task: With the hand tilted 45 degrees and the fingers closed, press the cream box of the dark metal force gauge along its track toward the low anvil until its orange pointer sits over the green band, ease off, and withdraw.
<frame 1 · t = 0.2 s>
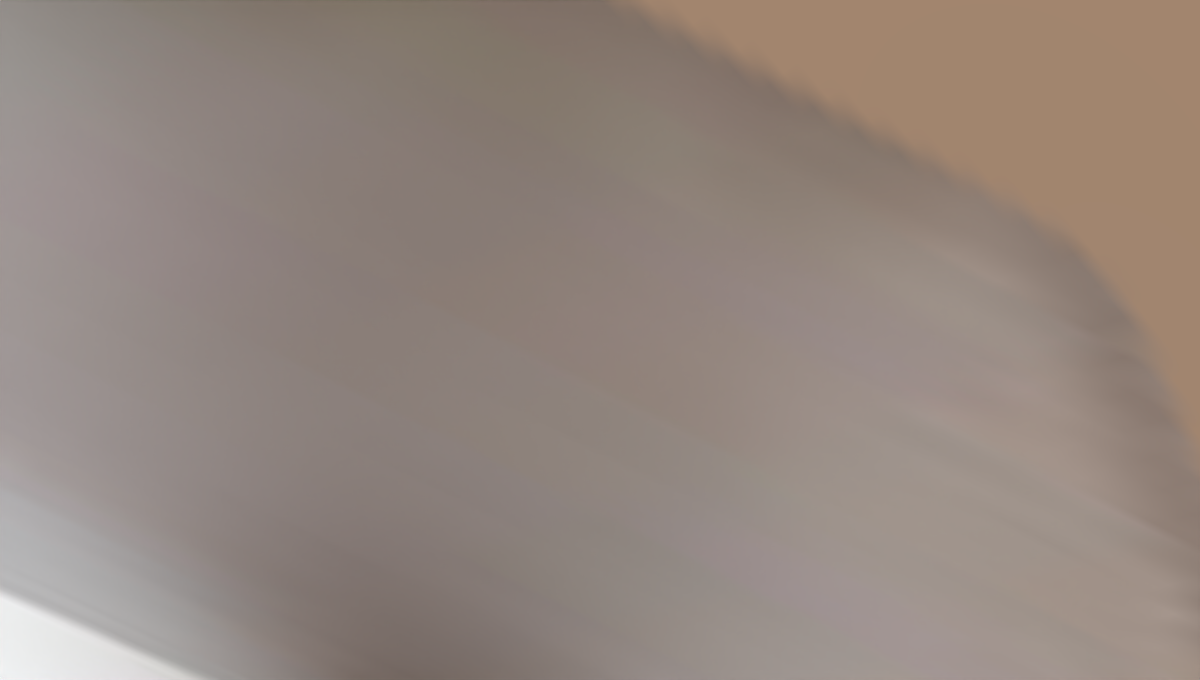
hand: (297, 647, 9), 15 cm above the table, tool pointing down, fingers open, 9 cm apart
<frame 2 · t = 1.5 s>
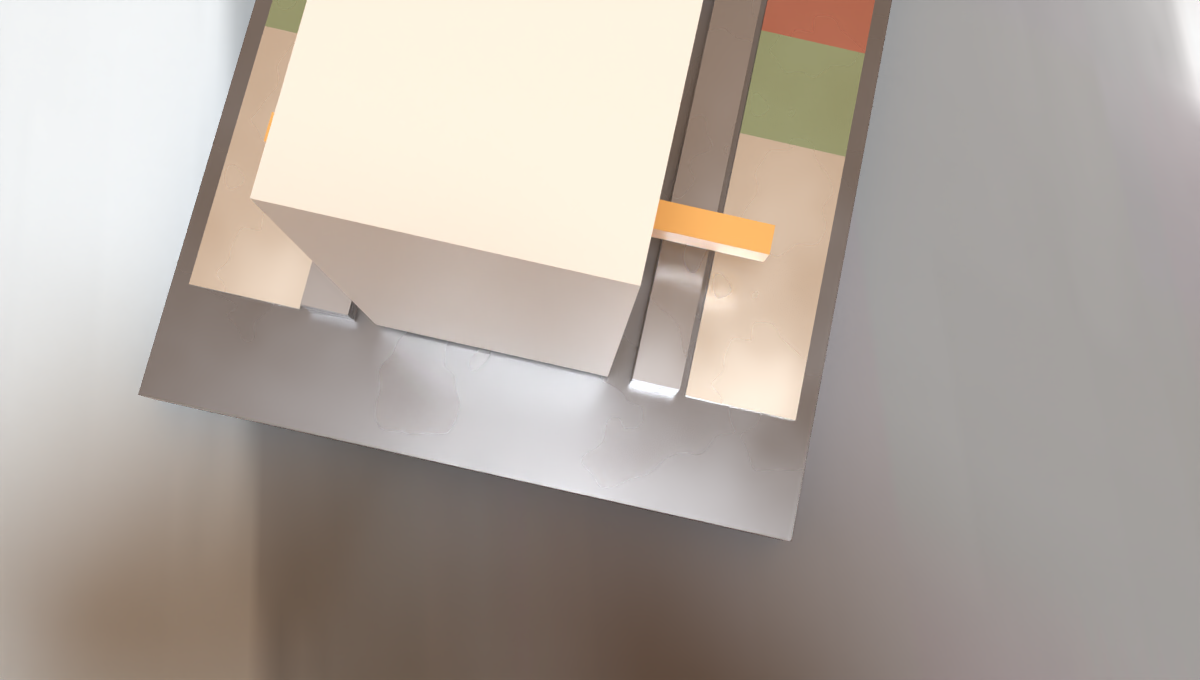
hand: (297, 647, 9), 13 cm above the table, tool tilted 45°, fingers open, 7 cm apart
cream box: (515, 143, 18), point 6 cm above the table, slide at 0.0 cm
gauge base: (560, 90, 24), on the table
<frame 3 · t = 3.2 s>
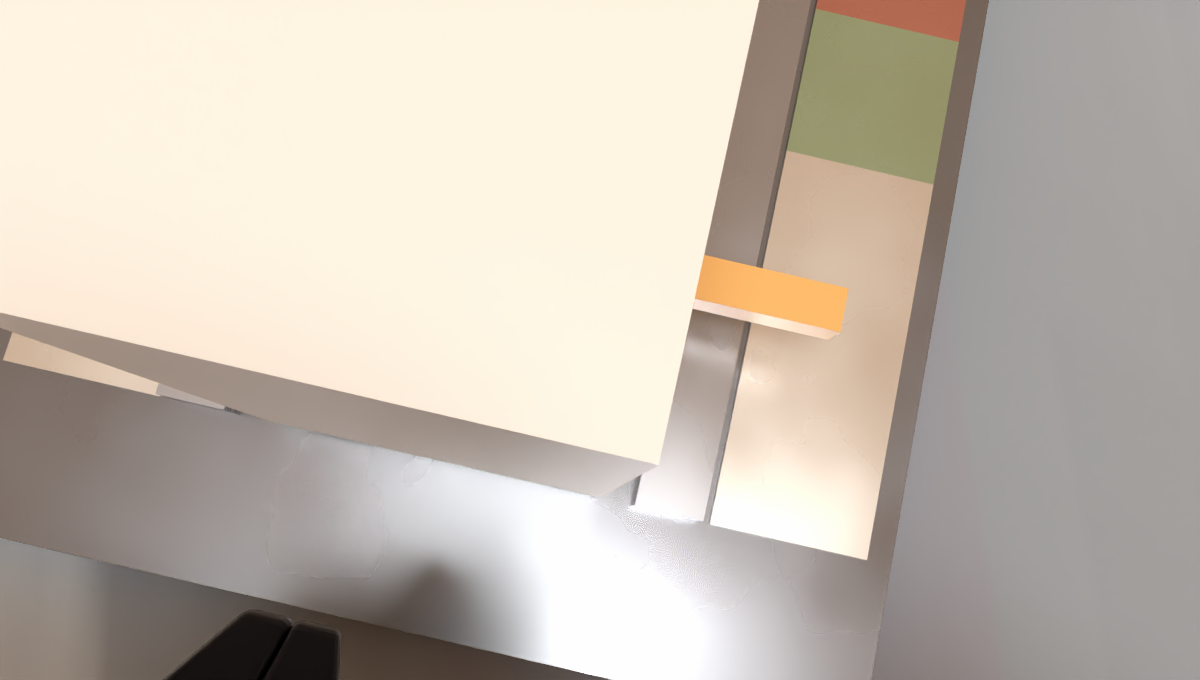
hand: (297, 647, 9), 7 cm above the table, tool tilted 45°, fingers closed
cream box: (454, 166, 11), point 6 cm above the table, slide at 0.0 cm
gauge base: (538, 90, 18), on the table
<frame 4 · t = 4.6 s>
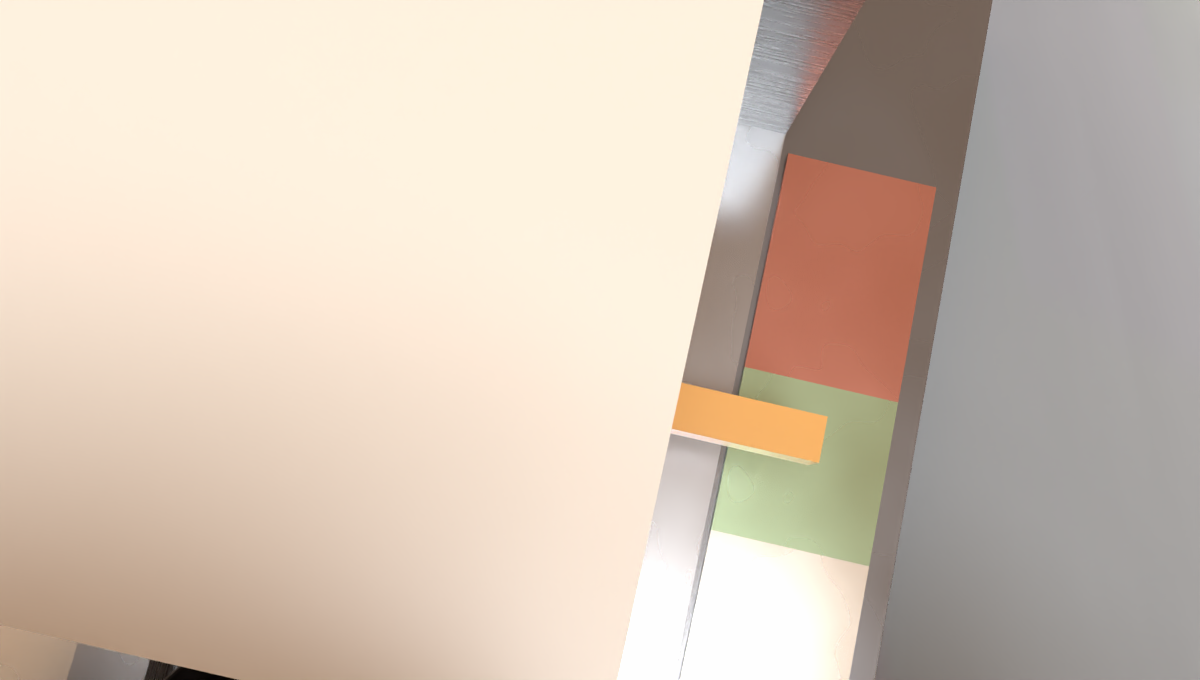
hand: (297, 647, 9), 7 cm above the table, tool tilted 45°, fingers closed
cream box: (414, 317, 11), point 6 cm above the table, slide at 4.4 cm
gauge base: (450, 438, 17), on the table
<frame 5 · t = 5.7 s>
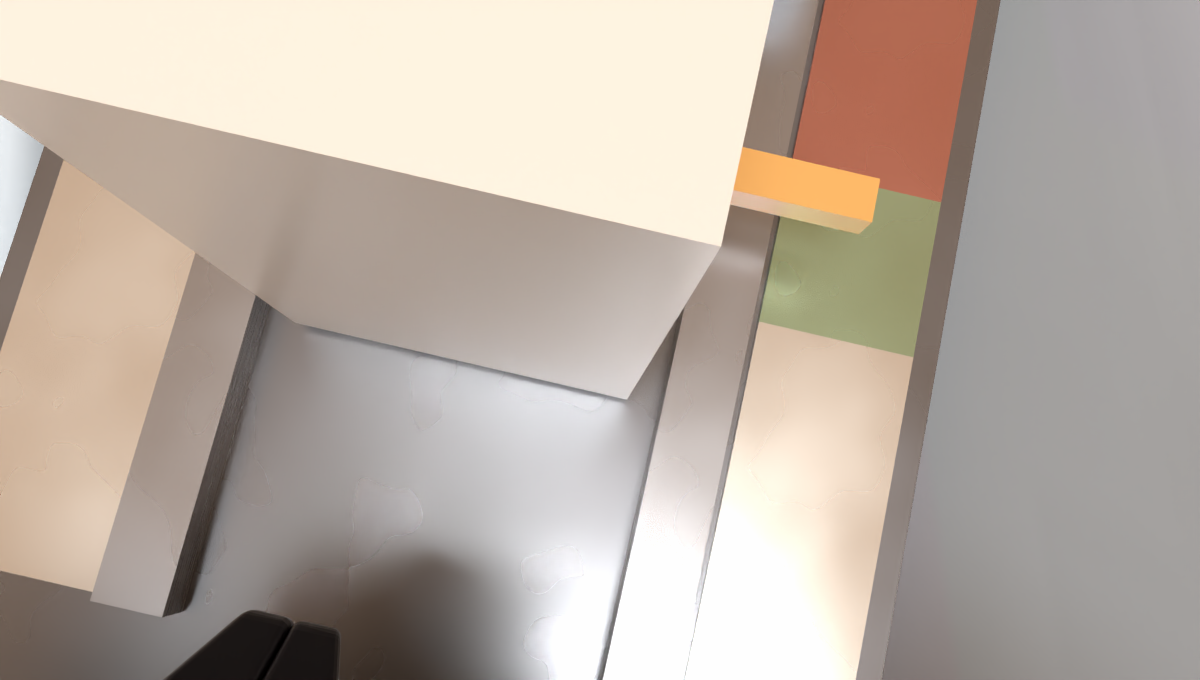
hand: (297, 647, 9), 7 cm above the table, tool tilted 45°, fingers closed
cream box: (489, 37, 11), point 6 cm above the table, slide at 4.4 cm
gauge base: (500, 245, 17), on the table
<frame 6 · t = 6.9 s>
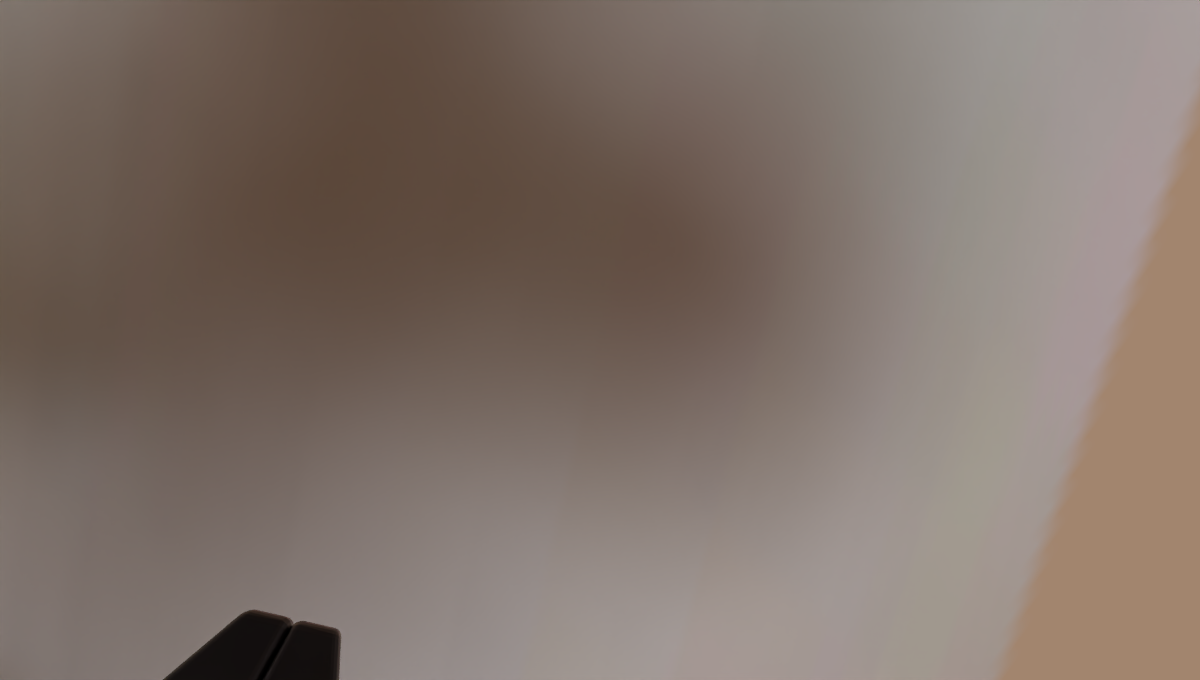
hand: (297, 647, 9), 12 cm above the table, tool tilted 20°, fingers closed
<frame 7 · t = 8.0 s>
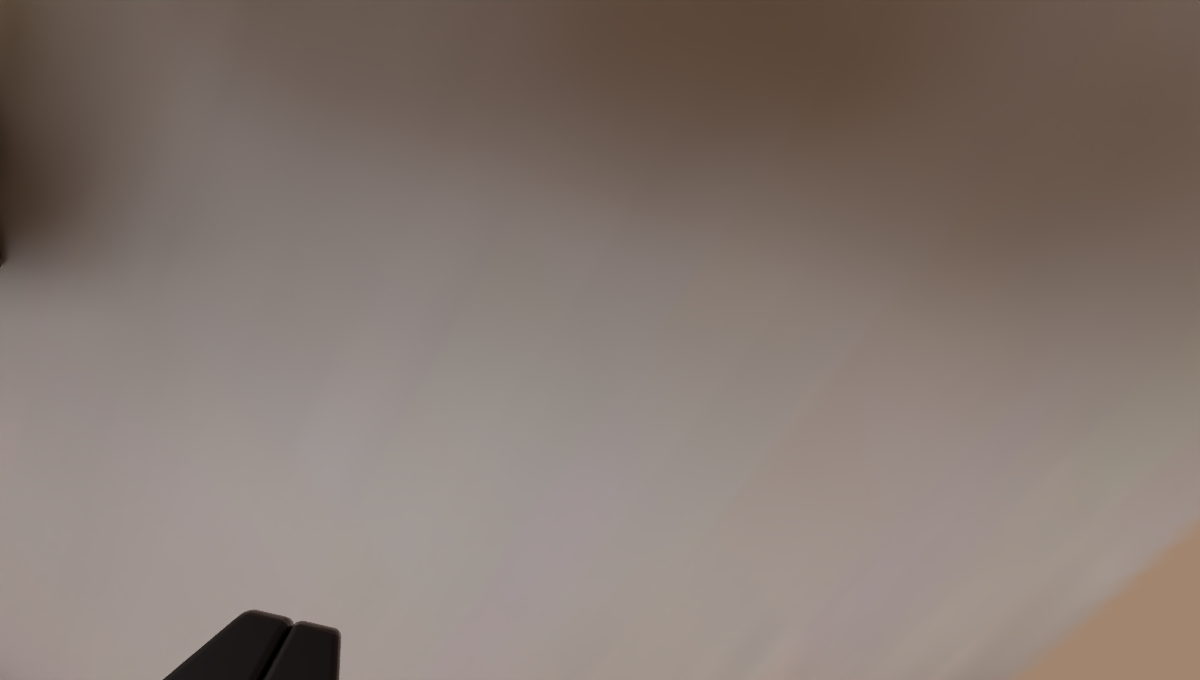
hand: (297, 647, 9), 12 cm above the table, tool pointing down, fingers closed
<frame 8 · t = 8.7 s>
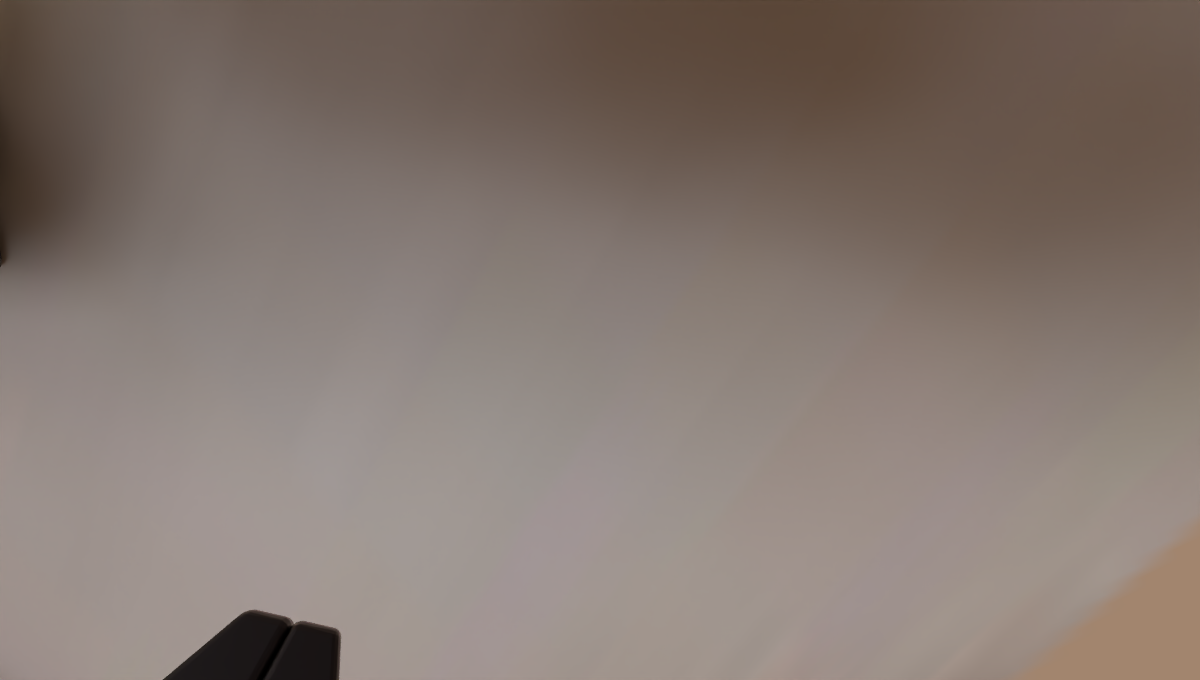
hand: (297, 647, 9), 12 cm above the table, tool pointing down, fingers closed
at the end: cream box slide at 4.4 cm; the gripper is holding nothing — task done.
